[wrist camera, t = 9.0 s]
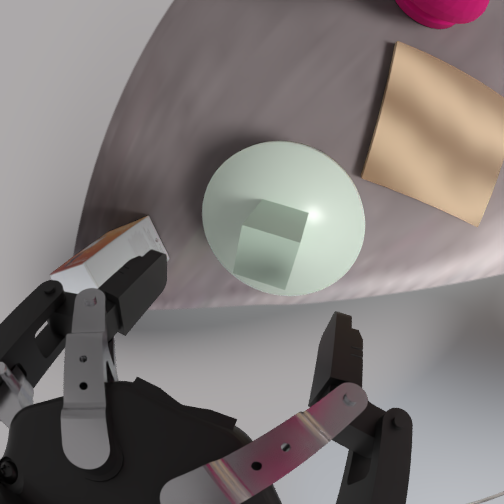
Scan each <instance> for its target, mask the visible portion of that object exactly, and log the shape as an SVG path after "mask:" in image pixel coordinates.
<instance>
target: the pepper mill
mask: <svg viewBox="0 0 504 504" xmlns="http://www.w3.org/2000/svg"><path fill="white" fill-rule="evenodd" d="M395 1H396V3H397V4H398V5H399V7H400V8H401V9H402V10H403V11H404V12H405V13H406V14H407V15H408V16H409V17H411V18H412V19H413V20H415V21H417V22H418V23H420V24H422V25H425V26H427V27H430V28H435V29H445V28H449V27H451V26H453V25H454V24H456V23H457V24H463V23H469V22H472V21H474V20H475V19H477V18H478V17H479V16H480V15H481V14H482V13H483V12H484V11H485V9H486V7H487V5H488V3H489V0H395Z"/></svg>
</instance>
